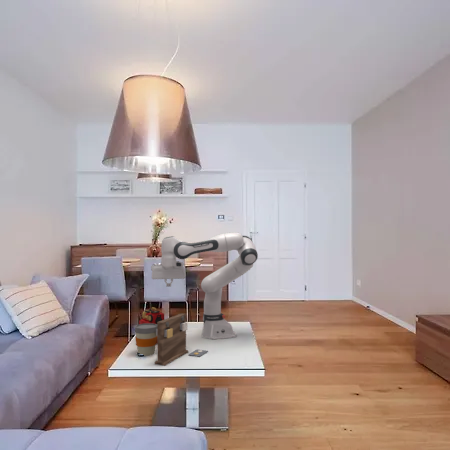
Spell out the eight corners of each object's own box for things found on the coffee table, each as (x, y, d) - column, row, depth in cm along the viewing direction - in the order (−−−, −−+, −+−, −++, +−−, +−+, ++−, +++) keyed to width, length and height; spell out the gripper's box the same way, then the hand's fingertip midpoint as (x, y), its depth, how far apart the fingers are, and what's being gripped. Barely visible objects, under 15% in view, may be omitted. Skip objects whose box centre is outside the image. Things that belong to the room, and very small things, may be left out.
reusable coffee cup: (143, 348, 207) (143, 322, 207) (162, 351, 202) (162, 324, 203) (129, 355, 195) (130, 327, 196) (149, 358, 191) (149, 329, 191)
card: (208, 351, 201) (208, 350, 201) (199, 357, 192) (199, 355, 192) (196, 350, 204) (196, 348, 204) (188, 355, 195) (188, 353, 195)
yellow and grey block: (172, 336, 185) (172, 328, 185) (168, 338, 181) (168, 330, 181) (160, 334, 188) (160, 327, 188) (155, 336, 184) (155, 328, 184)
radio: (138, 340, 224) (138, 308, 224) (152, 337, 230) (152, 306, 231) (150, 346, 212) (150, 311, 212) (165, 343, 218) (165, 309, 219)
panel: (188, 352, 200) (188, 314, 201) (164, 365, 179) (164, 323, 180) (179, 351, 203) (179, 313, 203) (154, 364, 182) (154, 321, 182)
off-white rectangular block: (187, 329, 199) (187, 322, 199) (183, 331, 195) (183, 323, 195) (175, 328, 202) (175, 321, 202) (171, 329, 198) (171, 322, 198)
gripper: (150, 264, 213) (150, 287, 213) (185, 263, 216) (185, 286, 216) (151, 263, 220) (151, 286, 219) (185, 262, 223) (185, 285, 222)
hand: (168, 286), depth 218 cm, fingers closed
